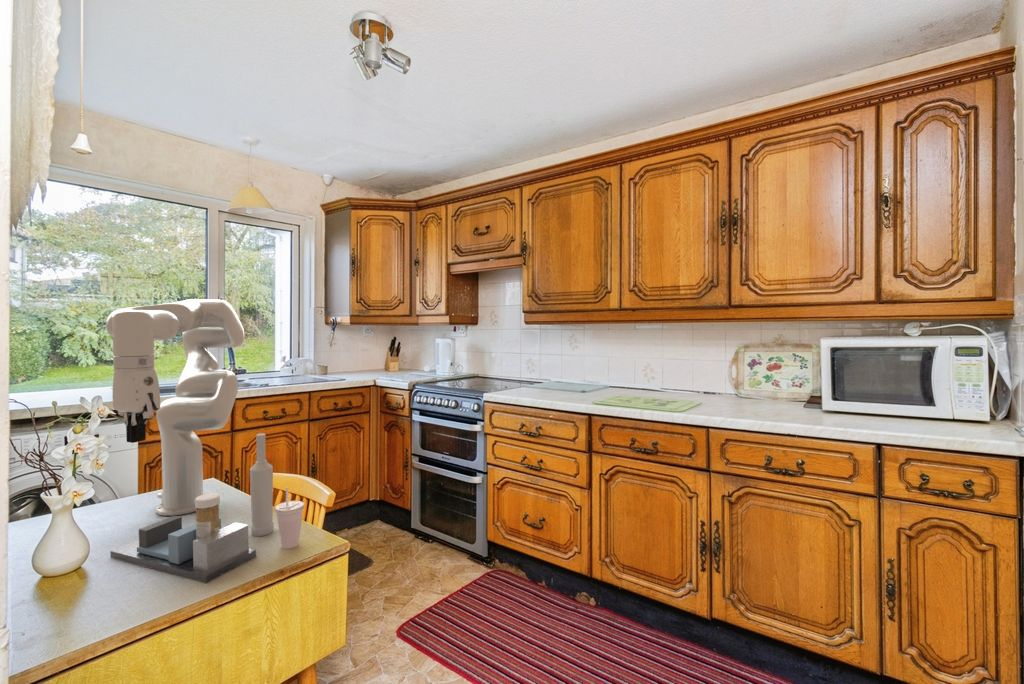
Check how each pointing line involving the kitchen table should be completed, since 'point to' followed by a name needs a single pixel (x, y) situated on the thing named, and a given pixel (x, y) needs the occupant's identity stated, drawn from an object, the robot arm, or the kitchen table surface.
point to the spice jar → (207, 514)
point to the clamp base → (173, 567)
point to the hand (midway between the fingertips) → (136, 441)
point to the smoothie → (289, 522)
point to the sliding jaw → (168, 540)
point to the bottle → (261, 491)
